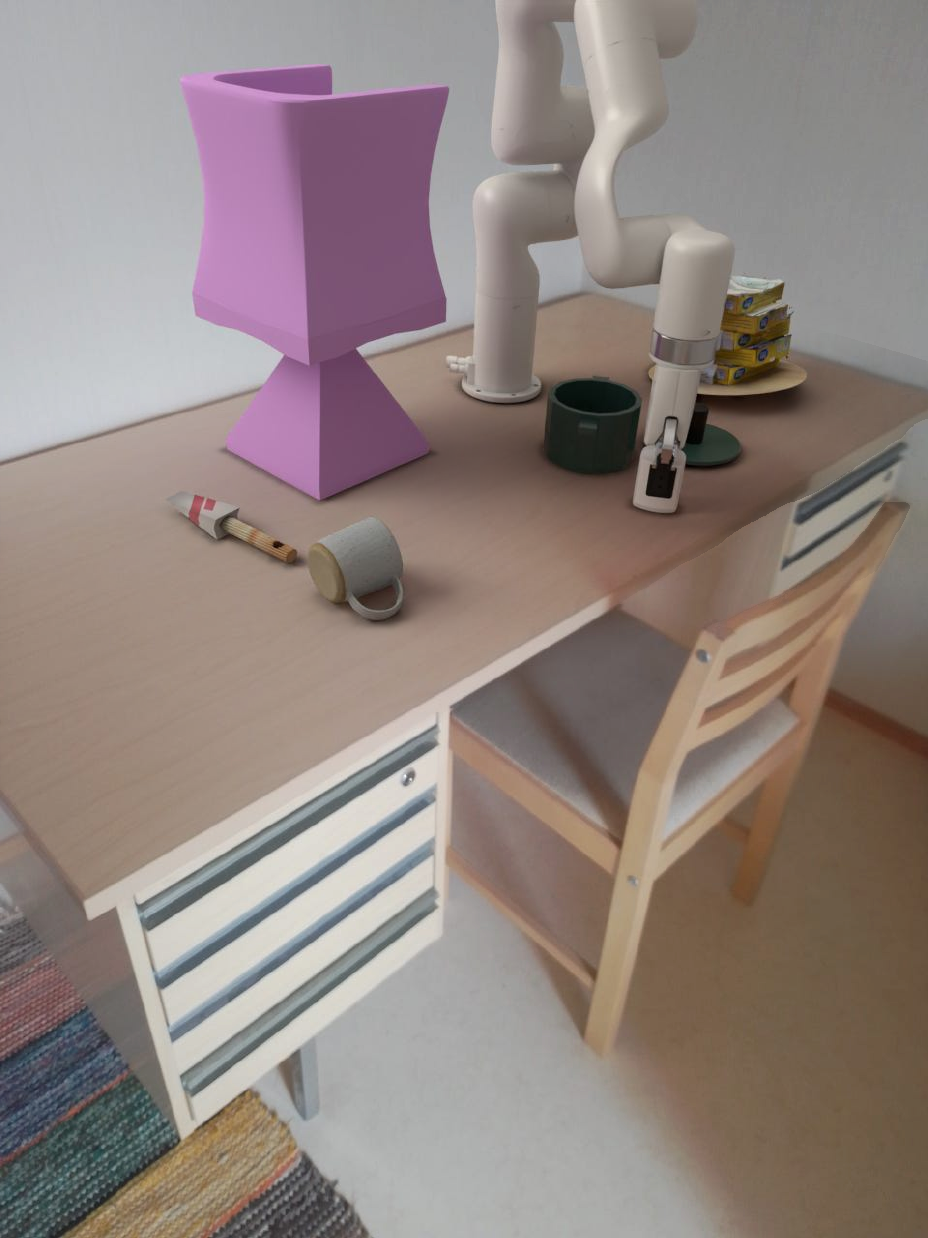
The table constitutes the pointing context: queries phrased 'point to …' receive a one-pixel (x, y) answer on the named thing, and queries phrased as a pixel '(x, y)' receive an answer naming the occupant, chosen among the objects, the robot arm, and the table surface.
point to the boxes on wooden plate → (751, 342)
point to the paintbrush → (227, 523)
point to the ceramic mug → (357, 565)
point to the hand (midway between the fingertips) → (660, 478)
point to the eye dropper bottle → (642, 476)
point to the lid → (708, 441)
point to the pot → (591, 425)
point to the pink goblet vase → (317, 258)
